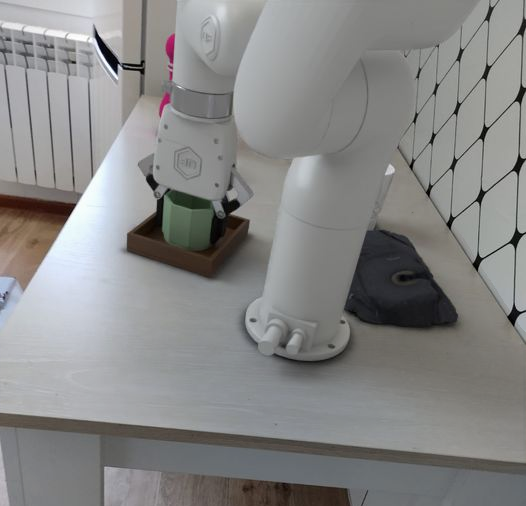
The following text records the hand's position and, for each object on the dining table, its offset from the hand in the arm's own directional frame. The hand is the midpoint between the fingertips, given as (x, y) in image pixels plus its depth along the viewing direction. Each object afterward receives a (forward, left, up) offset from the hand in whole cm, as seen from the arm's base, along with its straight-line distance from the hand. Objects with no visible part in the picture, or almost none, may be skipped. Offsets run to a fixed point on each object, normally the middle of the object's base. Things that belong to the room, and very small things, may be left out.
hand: (190, 230), depth 82 cm
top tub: (0, 0, -1) cm, 1 cm away
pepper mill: (+38, +20, -2) cm, 43 cm away
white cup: (+22, -20, -2) cm, 30 cm away
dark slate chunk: (+6, -28, -2) cm, 28 cm away
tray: (0, 0, -2) cm, 2 cm away
